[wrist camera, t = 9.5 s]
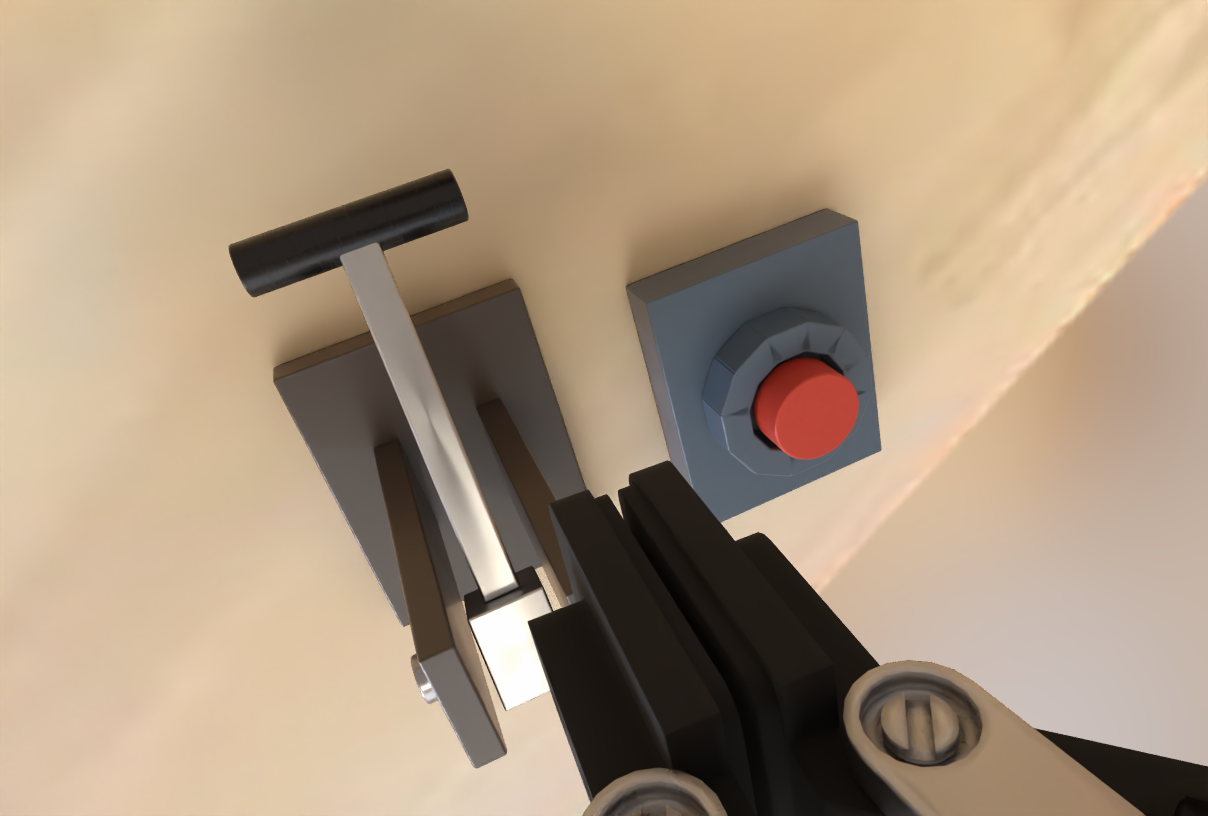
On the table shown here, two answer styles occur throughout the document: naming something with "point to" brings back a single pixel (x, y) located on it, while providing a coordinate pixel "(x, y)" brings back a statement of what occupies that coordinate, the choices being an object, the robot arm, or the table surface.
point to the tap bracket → (407, 492)
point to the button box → (755, 354)
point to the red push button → (806, 407)
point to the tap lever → (416, 396)
